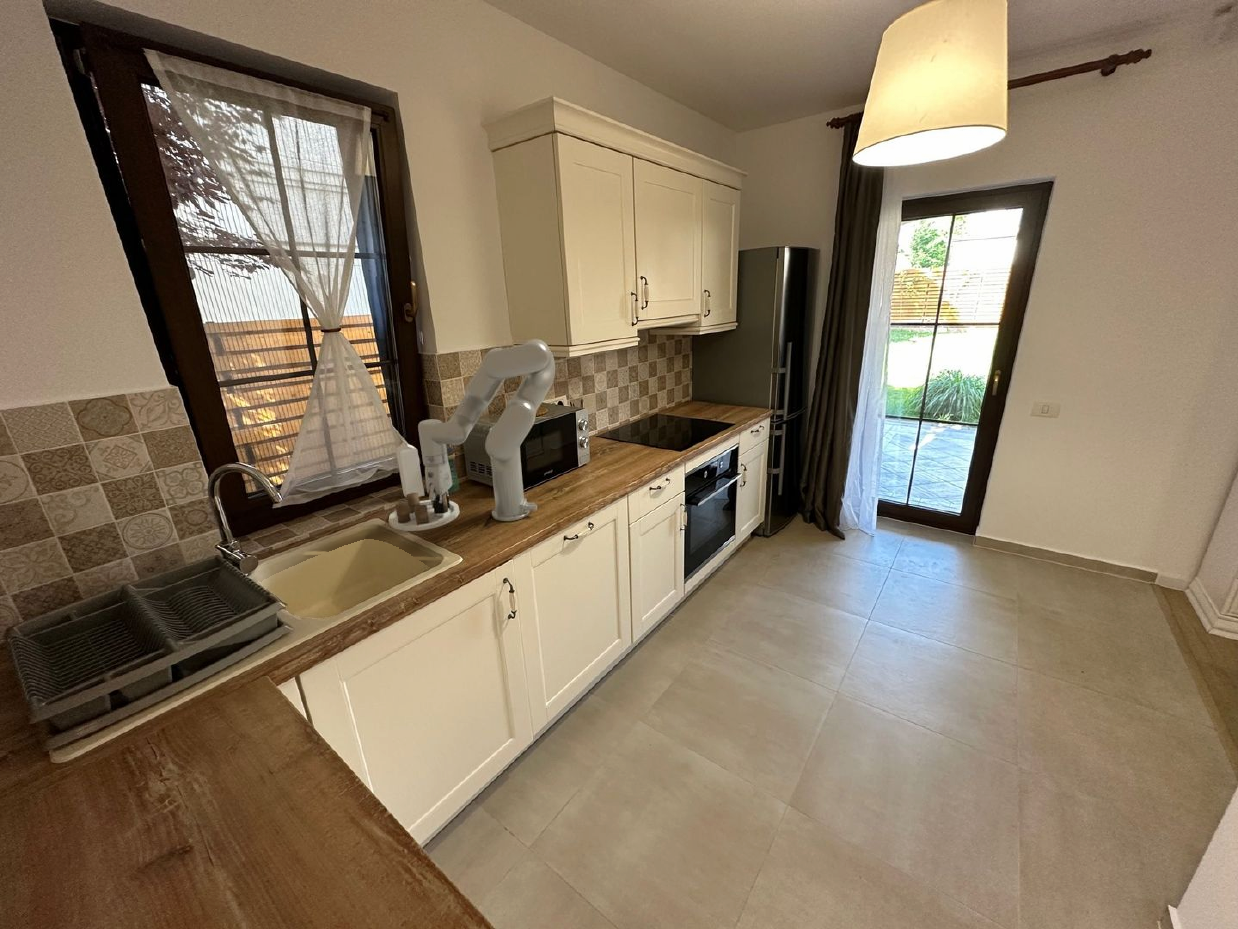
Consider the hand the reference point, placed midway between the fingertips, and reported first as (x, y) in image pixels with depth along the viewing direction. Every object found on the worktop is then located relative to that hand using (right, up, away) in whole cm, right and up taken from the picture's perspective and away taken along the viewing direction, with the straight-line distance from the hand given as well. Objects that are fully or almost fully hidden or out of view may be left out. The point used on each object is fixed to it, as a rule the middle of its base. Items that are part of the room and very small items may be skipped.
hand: (442, 510), depth 161 cm
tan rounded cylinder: (0, -1, 0) cm, 1 cm away
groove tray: (-6, -3, +1) cm, 7 cm away
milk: (-17, +3, +19) cm, 26 cm away
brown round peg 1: (-12, -3, -2) cm, 12 cm away
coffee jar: (-7, +5, +24) cm, 26 cm away
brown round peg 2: (-4, -4, -5) cm, 8 cm away
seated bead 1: (-11, -1, +5) cm, 12 cm away
